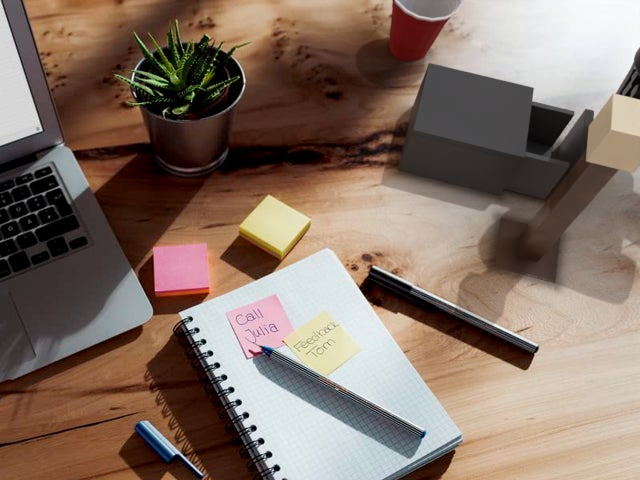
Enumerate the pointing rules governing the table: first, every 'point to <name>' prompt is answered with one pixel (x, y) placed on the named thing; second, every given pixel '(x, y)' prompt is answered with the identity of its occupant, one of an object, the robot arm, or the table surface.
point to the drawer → (543, 132)
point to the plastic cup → (418, 25)
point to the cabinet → (467, 129)
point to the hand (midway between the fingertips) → (581, 175)
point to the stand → (550, 223)
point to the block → (616, 134)
